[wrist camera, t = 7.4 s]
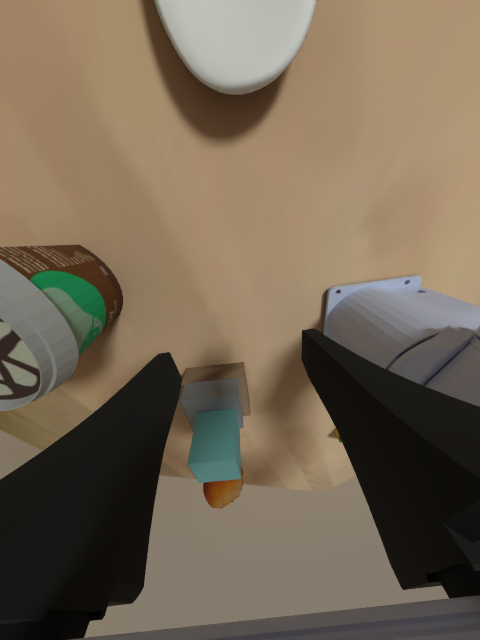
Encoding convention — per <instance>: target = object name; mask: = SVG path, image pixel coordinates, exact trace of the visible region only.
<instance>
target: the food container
mask: <svg viewBox="0 0 480 640" xmlns="http://www.w3.org/2000/svg"><path fill="white" fill-rule="evenodd" d="M122 306H123V295H122V290H121V288H120V285H119V283H118V281H117V279H116V277H115V276H114V274H113V273H112V272H111V270H110V269H109V268H108V267H107V266H106V264H105V263H104V262H103V261H101V260H100V259H99V258H98V257H97V256H96V255H94V254H93V253H92V252H90V251H89V250H87V249H85V248H84V247H82V246H80V245H57V246H23V247H0V411H6V410H11V409H15V408H19V407H22V406H24V405H26V404H28V403H29V402H32V401H35V400H37V399H39V398H41V397H43V396H44V395H46V394H48V393H49V392H51V391H52V390H54V389H55V388H57V387H58V386H60V385H61V384H63V383H64V382H66V381H67V380H68V379H69V378H70V377H71V376H72V375H73V373H74V372H75V370H76V367H77V365H78V356H79V355H80V354H81V353H82V352H83V351H84V350H85V349H86V348H87V347H88V346H89V345H90V344H91V343H92V342H93V341H94V340H95V339H96V338H97V337H98V336H99V335H100V334H101V333H102V332H103V331H104V330H105V329H106V328H107V327H108V326H109V325H110V324H111V323H112V322H113V321H114V319H115V318H116V317H117V316H118V315H119V314H120V312H121V310H122Z"/></svg>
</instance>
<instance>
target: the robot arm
mask: <svg viewBox="0 0 480 640" xmlns="http://www.w3.org/2000/svg"><path fill="white" fill-rule="evenodd" d="M406 280H407V281H406ZM405 281H406V282H405ZM421 281H422V277H421V276H418V275H414V276H407V277H400V278H393V279H386V280H379V281H372V282H365V283H358V284H351V285H344V286H337V287H331V288H330V289H329V290H328V292H327V300H326V309H325V318H324V327H323V334H322V333H321V332H319V331H317V330H315V329H308V330H302V362H303V364H304V367H305V369H306V372H307V374H308V377H309V378H310V380H311V382H312V384H313V386H314V388H315V390H316V391H317V393H318V395H319V397H320V399H321V400H322V402H323V404H324V406H325V408H326V409H327V411H328V413H329V415H330V417H331V419H332V421H333V423H334V425H335V427H336V429H337V431H338V434H339V436H340V438H341V440H342V443H343V445H344V447H345V449H346V452H347V454H348V457H349V459H350V461H351V464H352V466H353V468H354V471H355V473H356V476H357V478H358V481H359V483H360V486H361V488H362V491H363V493H364V495H365V498H366V501H367V503H368V506H369V508H370V511H371V513H372V516H373V519H374V521H375V524H376V527H377V529H378V532H379V534H380V537H381V540H382V542H383V545H384V548H385V551H386V553H387V556H388V559H389V562H390V564H391V567H392V569H393V571H394V573H395V575H396V577H397V579H398V582H399V583H400V586H401V587H402V589H403V590H406V589H415V588H423V587H432V586H443V588H444V590H445V591H446V593H447V595H448V596H449V598H450V599H441V600H431V601H422V602H413V603H404V604H395V605H385V606H376V607H367V608H357V609H348V610H340V611H331V612H321V613H311V614H302V615H293V616H283V617H274V618H266V619H256V620H247V621H238V622H228V623H219V624H209V625H200V626H191V627H182V628H173V629H163V630H154V631H146V632H135V633H126V634H117V635H108V636H99V637H89V638H84V636H85V633H86V630H87V627H88V625H89V622H90V621H93V620H102V619H103V617H104V616H105V613H106V610H107V607H108V606H114V605H123V604H131V603H133V602H134V601H135V600H136V598H137V597H138V595H139V594H140V593H141V591H142V589H143V587H144V579H145V570H146V561H147V553H148V544H149V536H150V529H151V522H152V515H153V508H154V502H155V495H156V490H157V484H158V478H159V473H160V468H161V463H162V458H163V453H164V448H165V444H166V440H167V437H168V434H169V430H170V427H171V423H172V420H173V416H174V413H175V410H176V406H177V402H178V399H179V394H180V389H181V381H182V377H181V375H180V373H179V371H178V369H177V367H176V365H175V363H174V360H173V358H172V356H171V354H170V352H167V353H161V354H158V355H157V356H156V357H154V358H153V359H152V360H151V361H150V362H149V363H148V364H147V365H146V366H145V367H144V368H143V369H142V370H141V371H140V372H139V373H137V374H136V375H135V376H134V377H133V378H132V379H131V380H130V381H129V382H128V383H127V384H126V385H125V386H124V387H123V388H122V389H120V390H119V391H118V392H117V393H116V394H115V395H114V396H113V397H111V398H110V399H109V400H108V401H107V402H106V403H105V404H104V405H102V406H101V407H100V408H99V409H98V410H96V411H95V412H94V413H93V414H92V415H90V416H89V417H88V418H87V419H85V420H84V421H83V422H82V423H80V424H79V425H78V426H76V427H75V428H74V429H73V430H71V431H70V432H68V433H67V434H66V435H64V436H63V437H62V438H60V439H59V440H57V441H56V442H55V443H53V444H52V445H51V446H49V447H48V448H46V449H45V450H44V451H42V452H41V453H39V454H38V455H37V456H35V457H34V458H32V459H31V460H29V461H28V462H26V463H25V464H24V465H22V466H20V467H19V468H17V469H16V470H14V471H13V472H11V473H10V474H8V475H7V476H5V477H4V478H2V479H1V480H0V640H480V307H479V306H476V305H473V304H471V303H468V302H465V301H462V300H459V299H456V298H453V297H451V296H448V295H445V294H442V293H439V292H436V291H433V290H431V289H428V288H425V287H422V286H420V284H421ZM337 290H339V292H338V293H336V291H337Z"/></svg>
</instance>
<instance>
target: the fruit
mask: <svg viewBox="0 0 480 640" xmlns="http://www.w3.org/2000/svg"><path fill="white" fill-rule="evenodd" d="M242 486H243V469H242V467H241V479H235V480H225V481H214V482H204V484H203V491H204V495H205V498H206V500H207V502H208V504H209V505H210V506H211V507H213V508H220V509H221V508H223V507H225V506H226V505H228V504H229V503H231V502H233V501H234V499H236V498H238V497H239V495H240V492H241V490H242Z"/></svg>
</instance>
